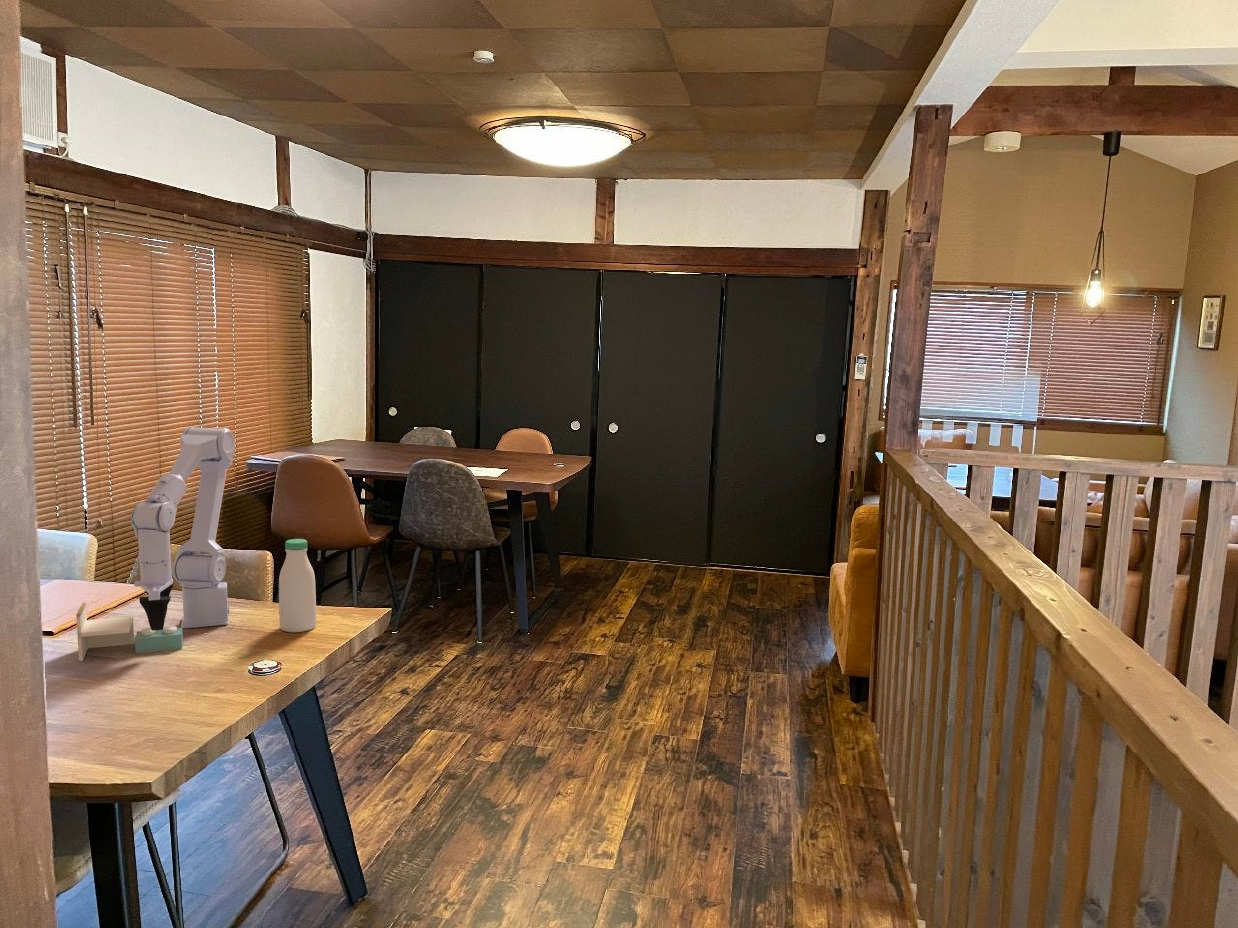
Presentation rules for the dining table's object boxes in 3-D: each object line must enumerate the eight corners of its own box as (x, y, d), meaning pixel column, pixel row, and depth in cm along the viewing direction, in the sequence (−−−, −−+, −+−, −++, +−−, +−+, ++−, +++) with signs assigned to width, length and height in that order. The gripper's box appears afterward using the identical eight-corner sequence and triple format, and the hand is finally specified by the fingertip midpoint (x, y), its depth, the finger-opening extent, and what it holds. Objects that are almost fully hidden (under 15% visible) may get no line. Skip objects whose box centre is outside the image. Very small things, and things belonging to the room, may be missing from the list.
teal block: (183, 642, 191) (182, 623, 190) (182, 649, 187) (181, 630, 186) (138, 647, 188) (136, 627, 187) (135, 654, 184) (134, 634, 183)
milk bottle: (322, 628, 202) (321, 541, 199) (290, 635, 197) (288, 546, 194) (305, 619, 207) (303, 534, 204) (273, 627, 202) (271, 540, 199)
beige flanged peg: (134, 642, 189) (132, 598, 188) (130, 656, 182) (128, 610, 181) (85, 647, 186) (82, 602, 184) (79, 661, 179) (76, 614, 177)
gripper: (136, 552, 190) (140, 614, 192) (129, 571, 176) (133, 637, 179) (174, 550, 192) (177, 611, 194) (169, 568, 179) (173, 633, 181)
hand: (158, 623), depth 187 cm, fingers open, 7 cm apart
